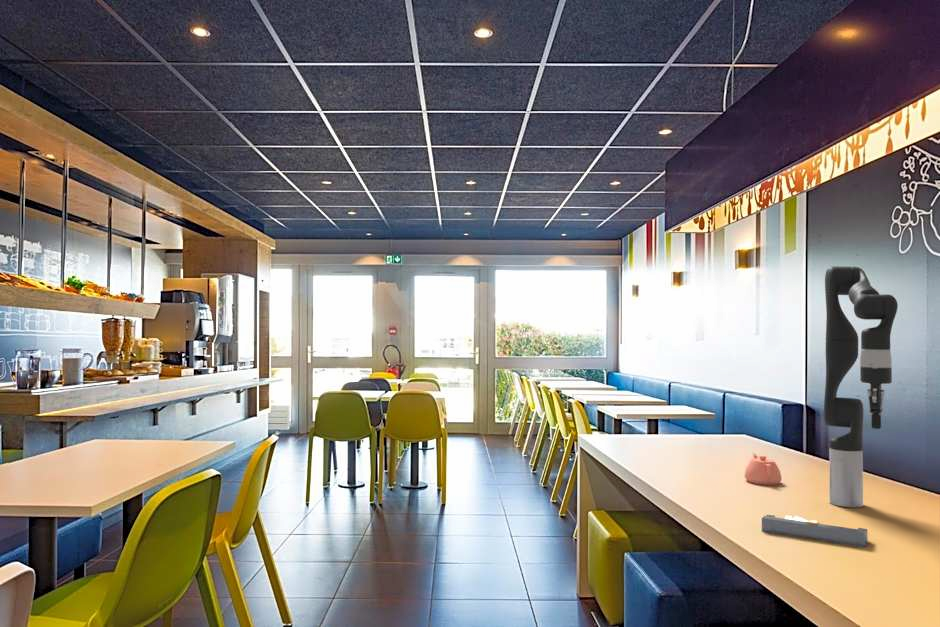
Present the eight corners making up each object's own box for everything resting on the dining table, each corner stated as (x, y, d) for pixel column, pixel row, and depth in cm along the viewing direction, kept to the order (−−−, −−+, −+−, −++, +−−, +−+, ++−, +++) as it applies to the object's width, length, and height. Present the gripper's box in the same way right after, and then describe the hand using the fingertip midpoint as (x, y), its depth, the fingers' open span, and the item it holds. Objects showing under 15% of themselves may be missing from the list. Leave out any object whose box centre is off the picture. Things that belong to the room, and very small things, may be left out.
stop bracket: (767, 525, 190) (767, 511, 190) (867, 540, 176) (867, 525, 176) (761, 531, 184) (761, 516, 184) (865, 547, 170) (864, 531, 170)
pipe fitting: (792, 528, 190) (783, 531, 185) (792, 513, 190) (783, 516, 185) (823, 534, 184) (815, 537, 179) (823, 519, 185) (815, 521, 180)
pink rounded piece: (752, 486, 241) (752, 459, 241) (737, 476, 258) (737, 450, 259) (788, 487, 239) (788, 460, 240) (770, 477, 257) (770, 451, 258)
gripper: (862, 364, 199) (863, 425, 198) (858, 366, 188) (858, 429, 187) (893, 365, 195) (893, 427, 194) (890, 367, 184) (890, 432, 183)
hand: (876, 428), depth 191 cm, fingers closed
